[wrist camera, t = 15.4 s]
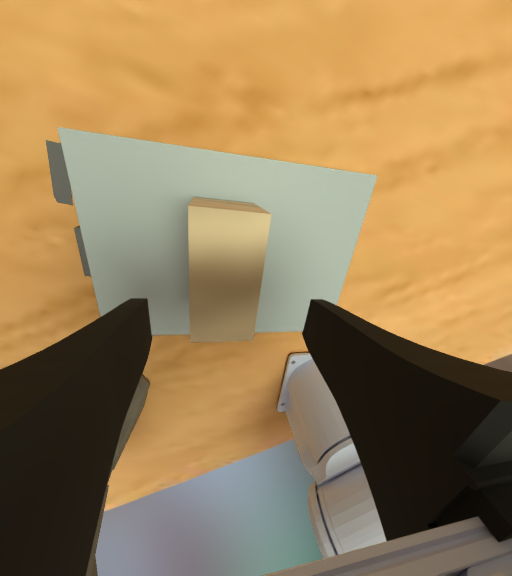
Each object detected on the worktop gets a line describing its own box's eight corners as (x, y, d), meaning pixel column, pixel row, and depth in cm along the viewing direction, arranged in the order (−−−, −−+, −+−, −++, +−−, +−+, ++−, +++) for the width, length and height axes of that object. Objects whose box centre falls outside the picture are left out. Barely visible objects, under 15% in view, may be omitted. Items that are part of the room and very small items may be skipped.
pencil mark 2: (92, 276, 16) (84, 276, 16) (98, 271, 17) (90, 270, 17) (82, 228, 15) (74, 228, 15) (89, 225, 16) (81, 225, 16)
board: (322, 321, 24) (328, 330, 22) (112, 325, 19) (105, 336, 18) (365, 175, 18) (377, 175, 16) (72, 131, 13) (57, 127, 12)
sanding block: (242, 302, 19) (253, 340, 14) (194, 301, 18) (189, 342, 14) (253, 202, 15) (271, 214, 11) (194, 196, 15) (188, 205, 10)
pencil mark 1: (54, 201, 15) (59, 201, 15) (72, 205, 15) (76, 204, 15) (45, 140, 13) (51, 141, 14) (65, 144, 13) (70, 145, 14)
